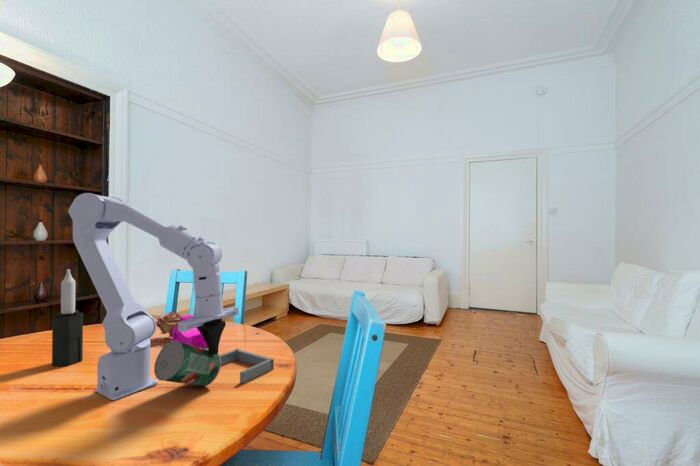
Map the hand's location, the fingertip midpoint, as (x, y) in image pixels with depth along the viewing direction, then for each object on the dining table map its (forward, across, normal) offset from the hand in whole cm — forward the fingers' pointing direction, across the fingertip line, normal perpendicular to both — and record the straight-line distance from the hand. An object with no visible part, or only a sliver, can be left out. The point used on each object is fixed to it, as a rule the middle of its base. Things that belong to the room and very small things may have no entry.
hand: (213, 353), depth 76 cm
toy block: (+6, +15, +30) cm, 35 cm away
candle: (+3, -13, +44) cm, 46 cm away
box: (+8, +8, +2) cm, 11 cm away
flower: (+5, +14, +42) cm, 45 cm away
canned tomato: (+4, 0, +3) cm, 5 cm away
